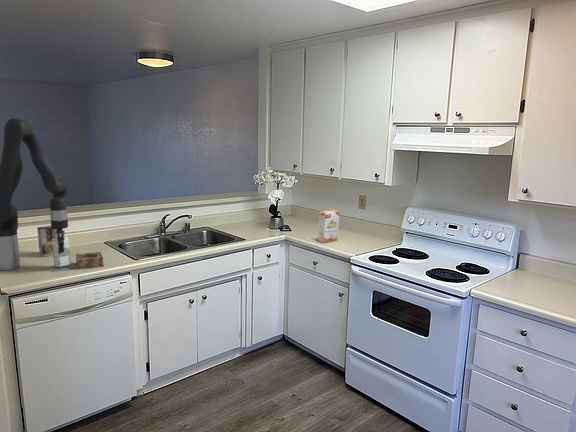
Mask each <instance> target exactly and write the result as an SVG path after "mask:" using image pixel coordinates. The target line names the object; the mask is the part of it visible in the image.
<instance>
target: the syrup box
mask: <svg viewBox="0 0 576 432" xmlns="http://www.w3.org/2000/svg"><path fill="white" fill-rule="evenodd" d="M64 238H65V240H64V252H62V253H60V252H59V245H58V241H57V238H52V240H53V252H54V255H53V262H54V265H53V266H58V267H63V266H68V265H71V264H72V263H71V251H70V240H69V239H70V238H68V236H65V235H64ZM60 242H63V241H59V243H60Z"/></svg>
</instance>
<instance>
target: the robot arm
mask: <svg viewBox="0 0 576 432" xmlns="http://www.w3.org/2000/svg"><path fill="white" fill-rule="evenodd" d="M3 130H4V131H3V147H2V151H1V160H0V271H13V270H17V269H19V268H20V267H21V261H20V249H19V239H18V228H19V215H18V209H17V207H16V206H15V204H13V203H12V199H13V195H14V193H15V191H16V189H17V188H18V186H19V184H20V182H21V177H22V172H23V166H24V165H23V160H22V156H21V144H22V142H23V143H24V144H25V146H26V147H27V148H28V151H29V155H30V159H31V162H32V164H33V165H34V168H35V169H36V170H37V173H38V174H39V175H40V177H41V181H42V183H43V186H44V188H45V189H46V190H47V191H48V192H49V193H50V194H53V195H52V198H50V200H49V208H50V209H49V210H50V212H49V214H50V215H49V216H50V226H51V228H52V229H57V231H56V237H57V241H58V245H59V252H60V253H62V252H64V240H65V238H64V236H65V234H66V232H65V230H64V229H67V228H69V221H68V220H69V219H68V210H67V201H66V200H67V197H68V189H69V188H68V183H67V181H66V180H65V179H63V178H60V177H59V178H57V177H56V175H55V173H56V169H55V167H54V165H53V163H52V162H51V160H50V159H49V157H48V156H47V154H46V153H45V150H44V148H43V147H42V145H41V143H40V140H39V138H38V136H37V134H36V131H35V129H34V127H33V125H32V124H31V122H29V121H28V120H26V119H23V118H22V119H21V118H9V119H8V120H7V121H6V123H5V125H4V129H3ZM59 241H63V242H60V243H59Z"/></svg>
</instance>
